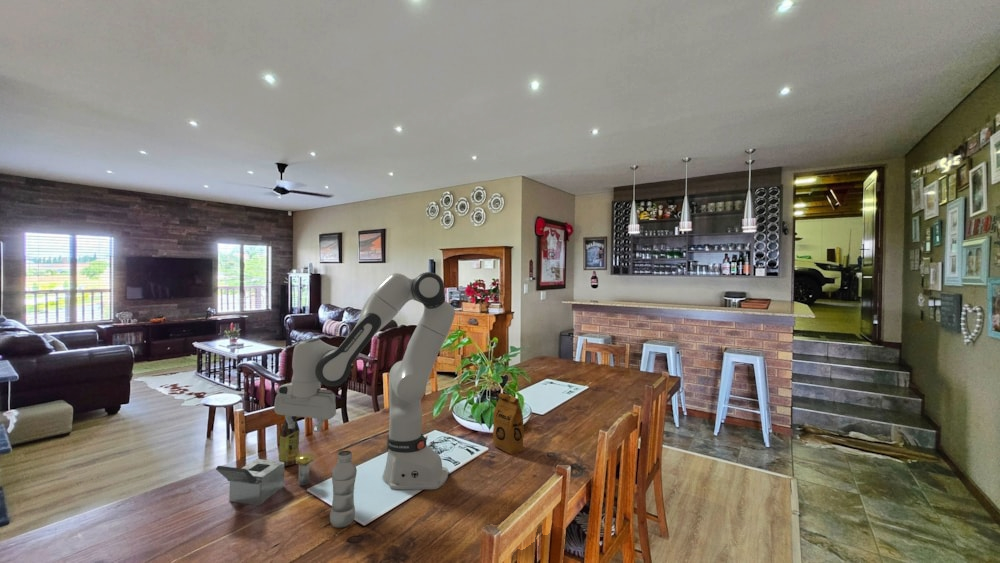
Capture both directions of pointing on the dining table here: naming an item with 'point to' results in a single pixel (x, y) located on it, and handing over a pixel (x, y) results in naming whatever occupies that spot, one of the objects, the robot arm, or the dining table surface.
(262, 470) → the grey box-shaped block
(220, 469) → the dark grey flat plate
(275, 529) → the dining table surface
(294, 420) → the sauce bottle
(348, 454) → the plastic bottle
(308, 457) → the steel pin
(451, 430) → the dining table surface
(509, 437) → the coffee package
